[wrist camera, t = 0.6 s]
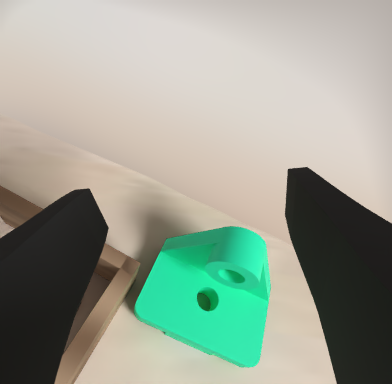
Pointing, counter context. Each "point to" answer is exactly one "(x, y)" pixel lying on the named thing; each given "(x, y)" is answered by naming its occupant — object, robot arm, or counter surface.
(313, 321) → the counter surface
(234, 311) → the camera mount
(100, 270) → the corner walls
